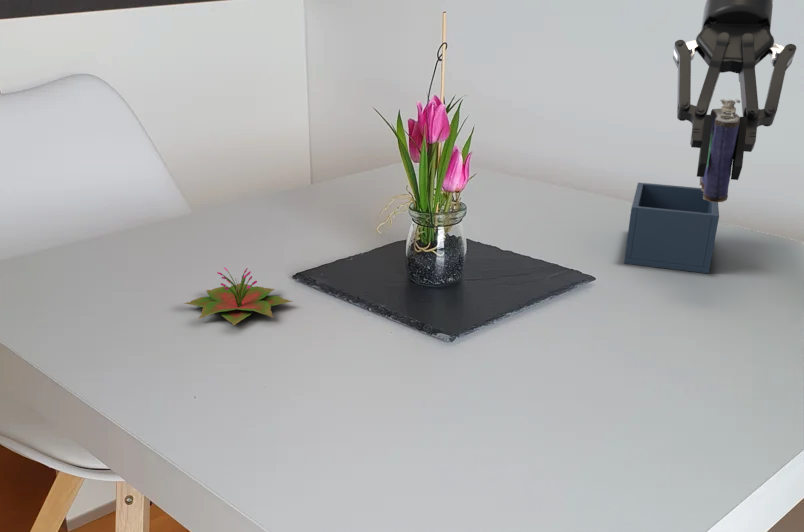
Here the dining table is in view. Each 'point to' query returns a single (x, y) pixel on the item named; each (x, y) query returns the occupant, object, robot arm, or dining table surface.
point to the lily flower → (237, 300)
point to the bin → (671, 228)
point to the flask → (720, 152)
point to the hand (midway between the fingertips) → (718, 171)
